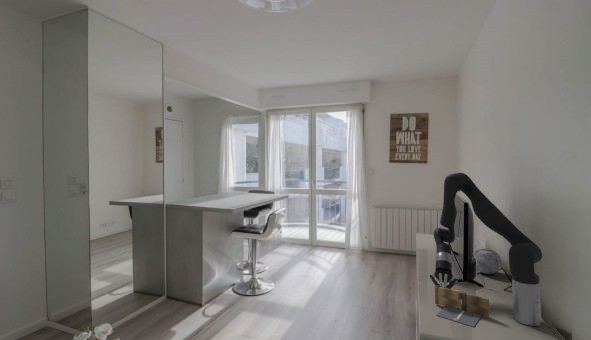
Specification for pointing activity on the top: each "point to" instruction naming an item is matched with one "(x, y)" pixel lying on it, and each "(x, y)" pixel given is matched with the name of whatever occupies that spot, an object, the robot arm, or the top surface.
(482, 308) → the fence fixed
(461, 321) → the board
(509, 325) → the top surface
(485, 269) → the decorative orb
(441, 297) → the fence gate
